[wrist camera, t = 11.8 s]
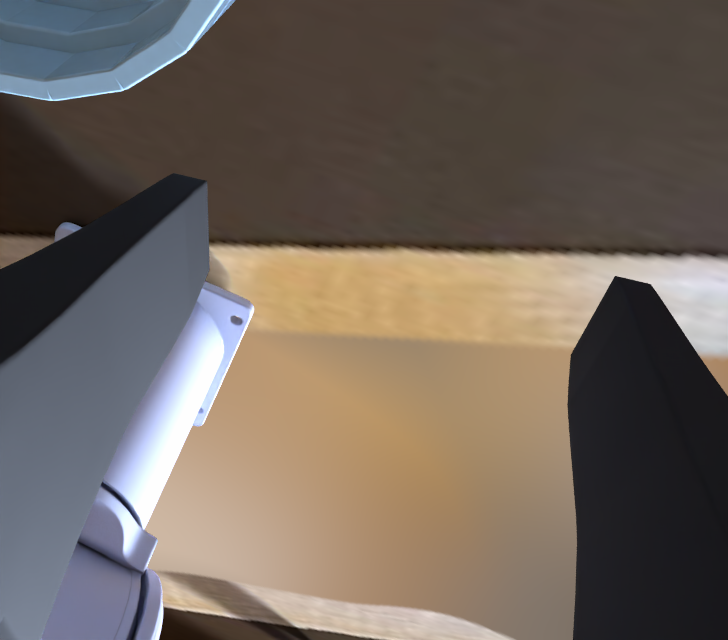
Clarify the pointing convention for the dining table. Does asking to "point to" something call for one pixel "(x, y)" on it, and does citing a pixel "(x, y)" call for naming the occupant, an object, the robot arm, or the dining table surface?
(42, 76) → the bowl
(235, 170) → the dining table surface
